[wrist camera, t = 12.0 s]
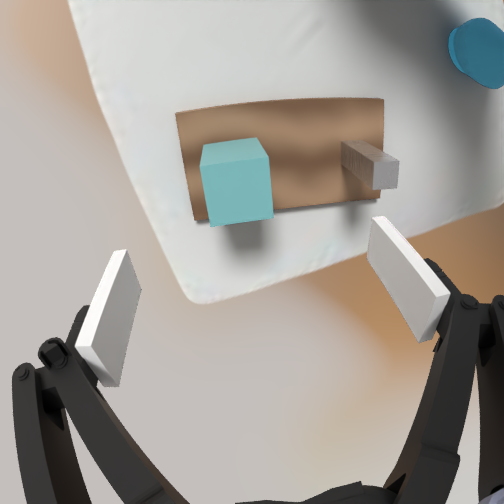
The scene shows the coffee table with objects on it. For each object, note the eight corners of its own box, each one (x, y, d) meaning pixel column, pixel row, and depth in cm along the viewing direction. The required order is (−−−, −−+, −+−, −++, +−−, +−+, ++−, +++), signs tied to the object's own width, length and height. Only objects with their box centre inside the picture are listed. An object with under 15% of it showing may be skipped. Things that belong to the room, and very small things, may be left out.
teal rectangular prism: (203, 144, 29) (199, 166, 23) (256, 137, 29) (268, 156, 23) (211, 192, 32) (210, 227, 25) (261, 185, 32) (273, 218, 26)
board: (176, 112, 29) (175, 113, 28) (379, 98, 29) (383, 99, 29) (194, 216, 35) (194, 220, 34) (376, 194, 36) (380, 198, 35)
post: (340, 140, 31) (374, 162, 24) (362, 140, 31) (399, 161, 24) (340, 163, 32) (372, 190, 26) (362, 162, 32) (397, 188, 26)
